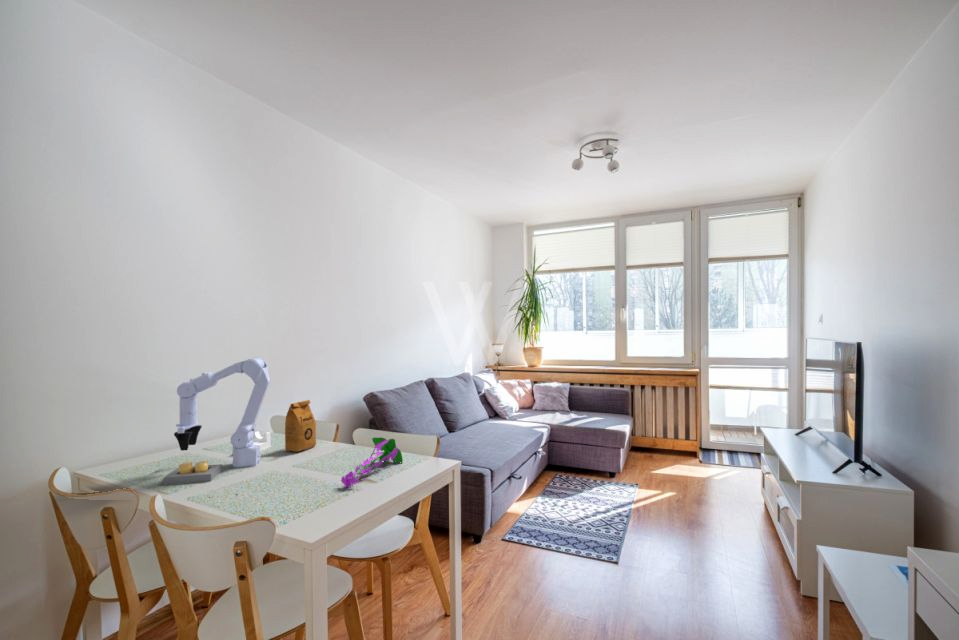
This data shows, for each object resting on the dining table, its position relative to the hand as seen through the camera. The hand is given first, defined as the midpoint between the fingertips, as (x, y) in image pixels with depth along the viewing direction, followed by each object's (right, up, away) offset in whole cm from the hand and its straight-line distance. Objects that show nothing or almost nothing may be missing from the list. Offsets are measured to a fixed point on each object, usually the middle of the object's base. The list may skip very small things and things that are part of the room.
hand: (188, 447), depth 169 cm
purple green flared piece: (+73, -10, -2) cm, 74 cm away
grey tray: (+9, -9, -11) cm, 17 cm away
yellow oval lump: (+7, -8, -11) cm, 15 cm away
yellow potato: (+12, -8, -10) cm, 17 cm away
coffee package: (+32, -10, +29) cm, 44 cm away
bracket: (+12, -10, +27) cm, 31 cm away
